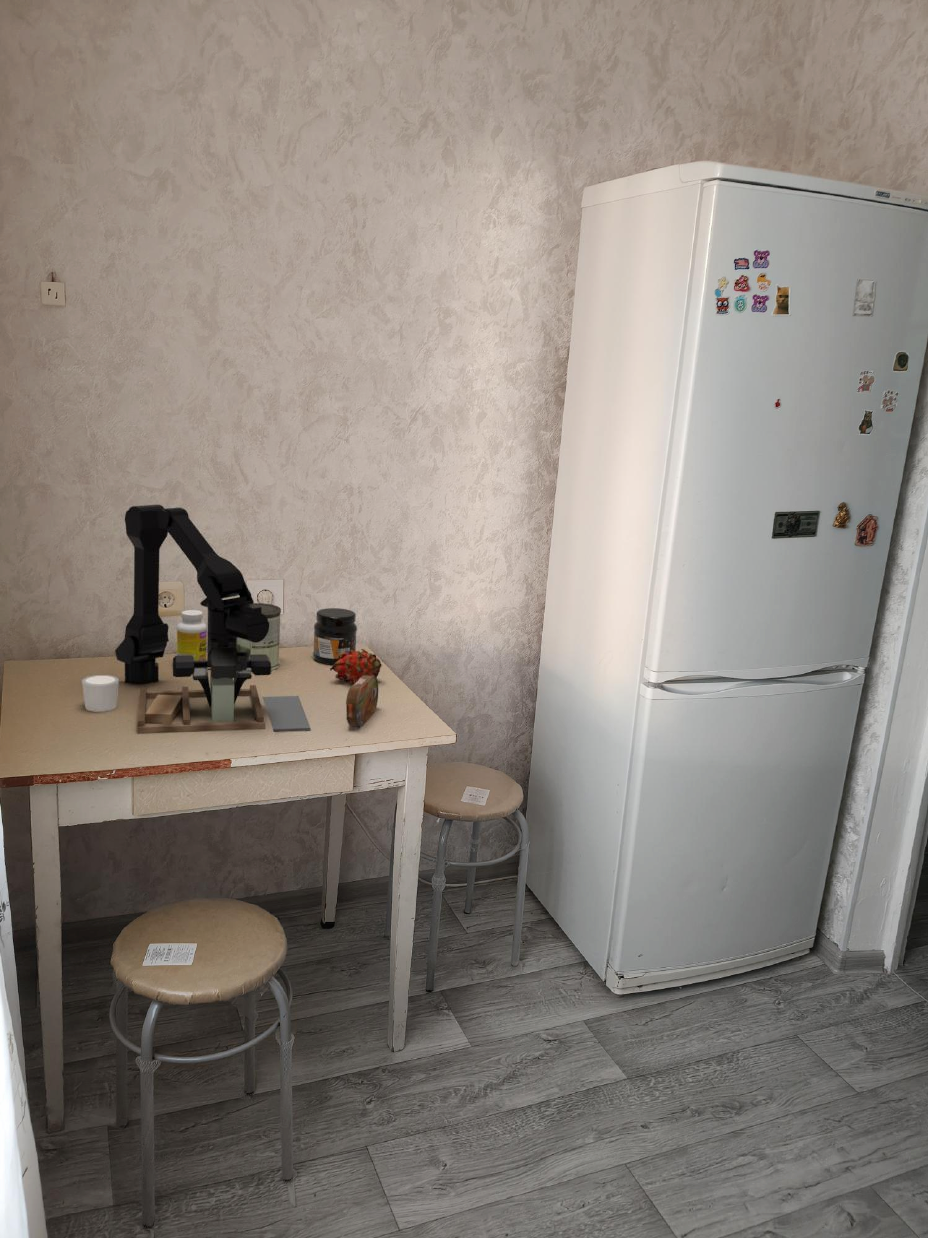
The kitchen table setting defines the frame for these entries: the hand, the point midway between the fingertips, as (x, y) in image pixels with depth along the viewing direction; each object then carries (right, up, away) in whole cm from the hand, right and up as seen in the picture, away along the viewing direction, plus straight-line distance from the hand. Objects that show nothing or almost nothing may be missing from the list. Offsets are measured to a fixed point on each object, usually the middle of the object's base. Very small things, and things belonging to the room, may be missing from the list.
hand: (221, 706), depth 190 cm
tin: (+27, -3, +6) cm, 28 cm away
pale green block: (0, -2, +1) cm, 3 cm away
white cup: (-24, -1, -1) cm, 24 cm away
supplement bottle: (-15, +6, +32) cm, 35 cm away
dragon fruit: (+24, +3, +28) cm, 37 cm away
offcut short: (-11, -1, -3) cm, 11 cm away
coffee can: (0, +6, +35) cm, 36 cm away
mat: (+11, -2, +5) cm, 13 cm away
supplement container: (+17, +7, +44) cm, 48 cm away
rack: (-4, -2, -1) cm, 5 cm away
